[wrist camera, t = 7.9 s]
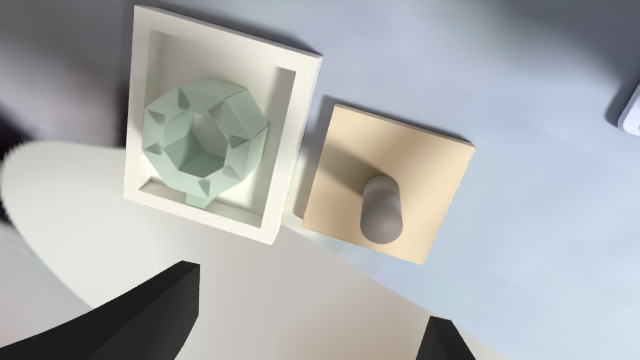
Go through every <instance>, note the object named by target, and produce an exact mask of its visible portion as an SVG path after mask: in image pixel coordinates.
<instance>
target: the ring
mask: <svg viewBox="0 0 640 360" xmlns="http://www.w3.org/2000/svg"><path fill="white" fill-rule="evenodd" d="M195 113H198V114H202V115H205V116H208V117H212V118H213V120H214V121H215V123H216V124H217V126H218V127H219V129H220V130H221V132H222V133H223V135H224V136H225V138H226V140H227V141H228V146H227V152H226V158H224V157H220V156H217V155H214V154H211V153H207V152H205V150H204V149H203V148H202V146H201V145H200V143H199V142H198V140H197V139H196V137H195V136H194V134H193V133H192V130H193V122H194V114H195ZM268 124H269V122H268V121H267V119H266V117H265V116H264V114H263V113H262V111H261V109H260V108H259V106H258V104H257V103H256V101H255V99H254V98H253V96H252V95H251V93H250V91H249V90H248V89H247V88H245V87H242V86H238V85H235V84H232V83H228V82H225V81H222V80H218V79H215V78H211V77H206V78H202V79H199V80H195V81H191V82H188V83H184V84H180V85H178V86H176V87H175V88H173V89H172V90H170V91H169V92H167V93H166V94H164V95H163V96H161V97H160V98H158V99H157V100H155V101H154V102H152V103H151V104H149V105H148V106H146V107H145V110H144V123H143V136H142V149H141V150H143V151H142V152H143V153H144V155H145V156H146V157H147V159H148V160H149V161H150V163H151V164H152V166H153V167H154V168H155V170H156V171H157V173H158V174H159V175H160V177H161V178H162V180H163V181H164V182H165V184H166V185H167V186H169V188H173V189H176V190H179V191H182V192H186V193H187V195H186V203H187V204H190V205H193V206H196V207H200V208H203V209H204V208H205V207H206V206H207V205H208V204H209V203H210V202H211V201H212V200H213V199H214V198H215V197H216V196H217V195H218V194H220V193H222V192H224V191H226V190H228V189H230V188H232V187H233V186H235V185H237V184H239V183H241V182H243V181H244V179H245V178H246V177H247V176H248V175H249V174H250V173H251V172H252V171H253V170H254V169H255V167H256V166H257V165H258V164H259V163H260V162H261V161H262V158H263V153H264V148H265V144H266V139H267V134H268V130H269V125H268Z"/></svg>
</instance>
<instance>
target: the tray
mask: <svg viewBox="0 0 640 360" xmlns="http://www.w3.org/2000/svg"><path fill="white" fill-rule="evenodd" d="M323 57H324V56H322V55H319V54H315V53H312V52H308V51H305V50H301V49H298V48H294V47H291V46H288V45H284V44H281V43H277V42H274V41H270V40H267V39H264V38H260V37H257V36H253V35H250V34H246V33H243V32H239V31H236V30H233V29H229V28H226V27H222V26H219V25H215V24H212V23H208V22H205V21H202V20H198V19H195V18H191V17H188V16H184V15H181V14H178V13H174V12H171V11H167V10H164V9H160V8H157V7H147V6H137V5H135V6H134V23H133V40H132V57H131V74H130V91H129V108H128V125H127V142H126V159H125V177H124V194H123V199H126V200H130V201H133V202H136V203H139V204H142V205H145V206H149V207H152V208H155V209H158V210H162V211H165V212H168V213H171V214H174V215H177V216H180V217H184V218H187V219H190V220H193V221H197V222H200V223H203V224H206V225H209V226H213V227H216V228H219V229H222V230H225V231H228V232H231V233H235V234H238V235H241V236H244V237H247V238H251V239H254V240H257V241H260V242H263V243H267V244H270V245H272V243H273V241H274V239H275V237H276V236H277V234H278V231H279V230H280V226H281V223H282V219H283V215H284V211H285V207H286V203H287V199H288V195H289V191H290V187H291V183H292V179H293V175H294V171H295V167H296V163H297V159H298V155H299V152H300V148H301V144H302V140H303V136H304V132H305V128H306V124H307V120H308V116H309V112H310V108H311V104H312V100H313V96H314V92H315V88H316V85H317V81H318V77H319V73H320V69H321V65H322V61H323ZM206 77H211V78H215V79H218V80H222V81H225V82H228V83H232V84H235V85H238V86H242V87H245V88H247V89H248V90H249V91H250V93H251V95H252V96H253V98H254V99H255V101H256V103H257V104H258V106H259V108H260V109H261V111H262V113H263V114H264V116H265V117H266V119H267V121H268V122H269V124H268V125H269V130H268V134H267V139H266V144H265V148H264V153H263V158H262V161H261V162H260V163H259V164H258V165H257V166H256V167H255V169H254V170H253V171H252V172H251V173H250V174H249V175H248V176H247V177H246V178H245V179H244V181H243V182H241V183H239V184H237V185H235V186H233V187H232V188H230V189H228V190H226V191H224V192H222V193H220V194H218V195H217V196H216V197H215V198H214V199H213V200H212V201H211V202H210V203H209V204H208V205H207V206H206V207H205V208H204V209H203V208H200V207H196V206H193V205H190V204H187V203H186V195H187V193H186V192H182V191H179V190H176V189H173V188H169V186H167V185H166V184H165V182H164V181H163V180H162V178H161V177H160V175H159V174H158V173H157V171H156V170H155V168H154V167H153V166H152V164H151V163H150V161H149V160H148V159H147V157H146V156H145V155H144V153H143V152H142V151H143V150H141V149H142V136H143V123H144V110H145V107H146V106H148V105H149V104H151V103H152V102H154V101H155V100H157V99H158V98H160V97H161V96H163V95H164V94H166V93H167V92H169V91H170V90H172V89H173V88H175V87H176V86H178V85H180V84H184V83H188V82H191V81H195V80H199V79H202V78H206ZM192 133H193V134H194V136H195V137H196V139H197V140H198V142H199V143H200V145H201V146H202V148H203V149H204V150H205V152H207V153H211V154H214V155H217V156H220V157H224V158H226V152H227V146H228V141H227V140H226V138H225V136H224V135H223V133H222V132H221V130H220V129H219V127H218V126H217V124H216V123H215V121H214V120H213V118H212V117H208V116H205V115H202V114H198V113H195V114H194V122H193V130H192Z"/></svg>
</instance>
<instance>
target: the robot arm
mask: <svg viewBox="0 0 640 360" xmlns="http://www.w3.org/2000/svg"><path fill="white" fill-rule="evenodd" d="M617 123H618V128H619V129H620V130H621V131H623V132H625V133H628V134H631V135H634V136H638V137H640V130H639V126H640V84H639V85H638V87H637V89H636V90H635V92H634V94H633V95H632V97H631V99H630V100H629V102H628V104H627V106H626V107H625V109H624V111H623V112H622V114H621V116H620V117H619V120H618V122H617ZM199 283H200V264H196V263H191V262H186V261H180V262H178V263H176V264H174V265H173V266H171V267H169V268H167V269H166V270H164V271H162V272H161V273H159V274H157V275H156V276H154V277H152V278H151V279H149V280H147V281H145V282H144V283H142V284H140V285H138V286H137V287H135V288H133V289H131V290H130V291H128V292H126V293H124V294H123V295H121V296H119V297H117V298H115V299H113V300H111V301H109V302H107V303H105V304H103V305H101V306H100V307H97V308H95V309H93V310H92V311H90V312H88V313H85V314H83V315H81V316H79V317H77V318H75V319H73V320H70V321H68V322H66V323H64V324H61V325H59V326H57V327H54V328H52V329H50V330H47V331H45V332H42V333H40V334H37V335H34V336H32V337H29V338H26V339H24V340H21V341H18V342H15V343H13V344H10V345H7V346H4V347H2V348H0V360H174V359H175V358H176V356H177V355H178V353H179V351H180V350H181V348H182V347H183V345H184V343H185V341H186V339H187V337H188V335H189V334H190V332H191V330H192V327H193V326H194V323H195V321H196V319H197V317H198V313H199ZM416 360H476V359H475V358H474V356H473V354H472V353H471V351H470V350H469V348H468V347H467V345H466V343H465V342H464V340H463V338H462V337H461V335H460V334H459V332H458V330H457V329H456V327H455V326H454V324H453V323H452V321H451V320H447V319H443V318H438V317H434V316H430V318H429V322H428V324H427V327H426V331H425V334H424V336H423V339H422V342H421V345H420V348H419V351H418V354H417V357H416Z"/></svg>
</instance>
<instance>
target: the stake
mask: <svg viewBox="0 0 640 360" xmlns="http://www.w3.org/2000/svg"><path fill="white" fill-rule="evenodd" d="M475 148H476V147H475V146H474V145H473V144H472V143H470V142H467V141H463V140H460V139H456V138H453V137H450V136H446V135H443V134H440V133H436V132H433V131H429V130H426V129H423V128H419V127H416V126H412V125H409V124H406V123H402V122H399V121H396V120H392V119H389V118H385V117H382V116H379V115H375V114H372V113H368V112H365V111H362V110H358V109H355V108H352V107H348V106H345V105H341V104H338V103H336V104H335V106H334V110H333V113H332V117H331V120H330V124H329V128H328V131H327V135H326V138H325V142H324V146H323V149H322V153H321V156H320V160H319V164H318V167H317V171H316V174H315V178H314V181H313V185H312V189H311V192H310V196H309V199H308V203H307V207H306V210H305V214H304V217H303V221H302V225H301V228H304V229H307V230H311V231H314V232H317V233H320V234H324V235H327V236H330V237H333V238H336V239H340V240H343V241H346V242H349V243H353V244H356V245H359V246H362V247H365V248H369V249H372V250H375V251H378V252H382V253H385V254H388V255H391V256H394V257H398V258H401V259H404V260H407V261H410V262H414V263H417V264H420V265H423V264H424V262H425V260H426V257H427V255H428V253H429V251H430V248H431V246H432V244H433V242H434V240H435V237H436V235H437V233H438V231H439V228H440V226H441V224H442V222H443V219H444V217H445V215H446V213H447V211H448V208H449V206H450V204H451V202H452V199H453V197H454V195H455V193H456V191H457V188H458V186H459V184H460V182H461V179H462V177H463V175H464V173H465V171H466V168H467V166H468V164H469V162H470V159H471V157H472V155H473V153H474V150H475Z"/></svg>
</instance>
